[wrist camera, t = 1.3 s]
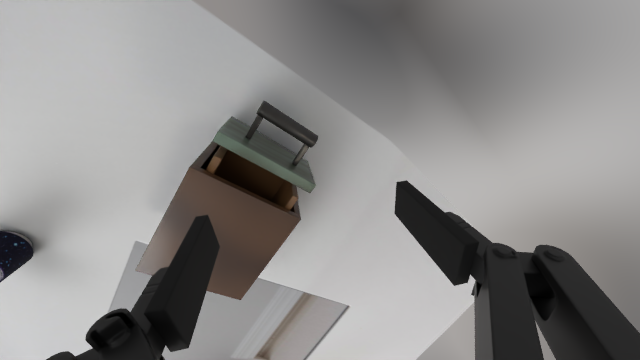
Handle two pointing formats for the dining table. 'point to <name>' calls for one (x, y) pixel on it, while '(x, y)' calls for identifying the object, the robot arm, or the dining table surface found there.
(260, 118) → the drawer
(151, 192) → the dining table surface
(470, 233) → the robot arm
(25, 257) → the beverage can
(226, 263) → the cabinet
